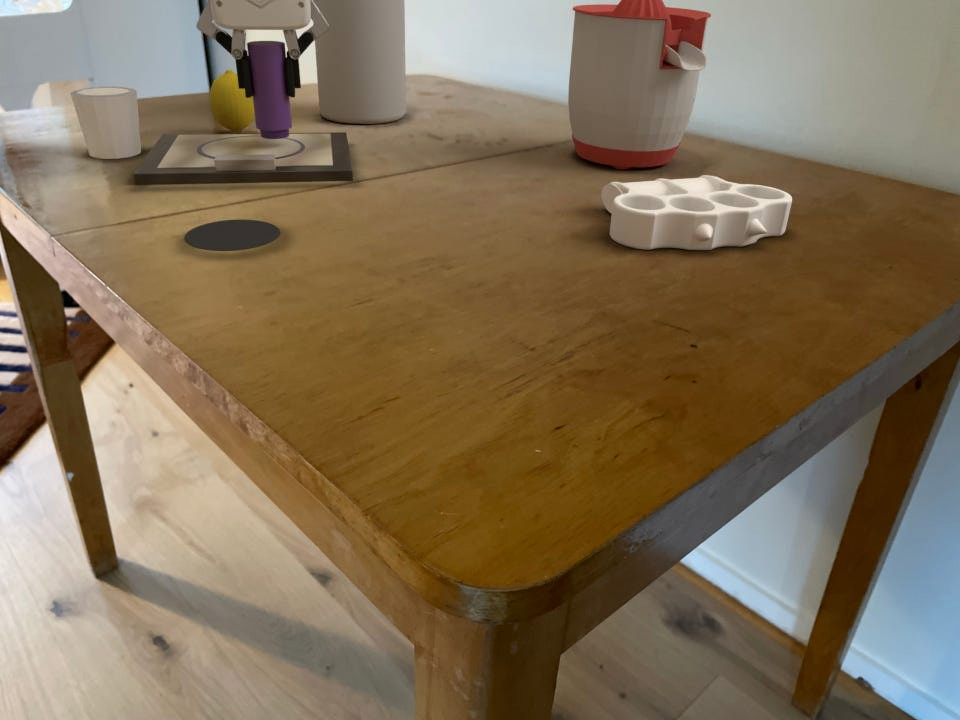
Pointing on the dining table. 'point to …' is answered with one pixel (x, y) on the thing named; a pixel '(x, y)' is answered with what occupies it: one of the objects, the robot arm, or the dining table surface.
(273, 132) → the cylinder
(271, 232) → the coaster
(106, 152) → the white cup
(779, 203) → the knuckle duster
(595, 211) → the dining table surface
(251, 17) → the robot arm
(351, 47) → the cylinder vase
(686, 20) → the citrus juicer
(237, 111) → the lemon
